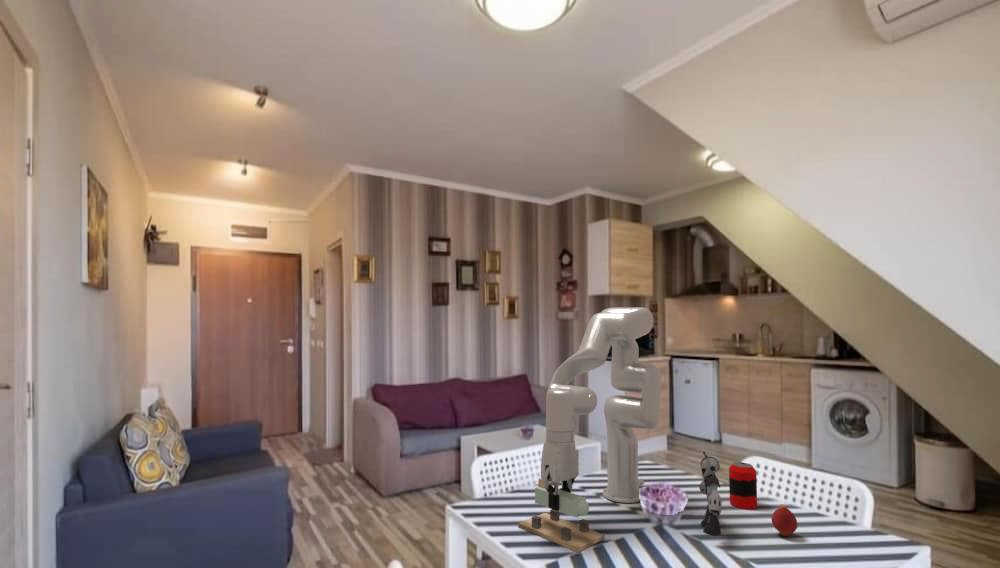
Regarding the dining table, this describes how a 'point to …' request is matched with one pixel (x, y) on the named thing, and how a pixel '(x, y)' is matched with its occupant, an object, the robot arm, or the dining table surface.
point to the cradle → (562, 531)
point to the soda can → (743, 485)
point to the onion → (784, 521)
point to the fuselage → (563, 501)
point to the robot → (711, 495)
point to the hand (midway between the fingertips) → (559, 506)
